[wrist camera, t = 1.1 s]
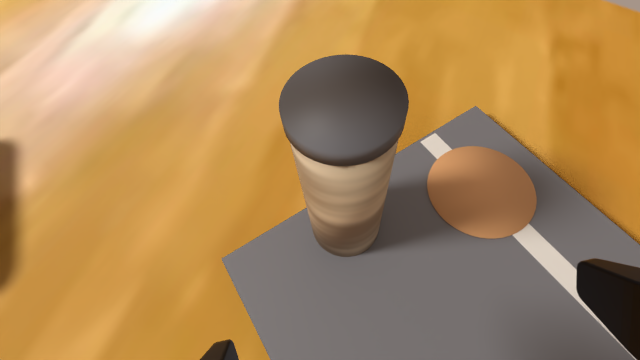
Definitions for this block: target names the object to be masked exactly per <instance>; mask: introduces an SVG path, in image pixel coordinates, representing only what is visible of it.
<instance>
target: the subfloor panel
mask: <svg viewBox="0 0 640 360" xmlns="http://www.w3.org/2000/svg"><path fill="white" fill-rule="evenodd" d="M592 258H598V259H603V260H607V261H612V262H616V263H621V264H625V265H630V266H635V267H639V268H640V245H639V244H638V243H637V242H636V241H634V240H633V239H632V238H631V237H630V236H629V235H627V234H626V233H625V232H624V231H623V230H622V229H620V228H619V227H618V226H617V225H616V224H614V223H613V222H612V221H611V220H610V219H609V218H607V217H606V216H605V215H604V214H603V213H601V212H600V211H599V210H598V209H597V208H596V207H594V206H593V205H592V204H591V203H590V202H588V201H587V200H586V199H585V198H584V197H583V196H581V195H580V194H579V193H578V192H577V191H576V190H574V189H573V188H572V187H571V186H570V185H568V184H567V183H566V182H565V181H564V180H563V179H561V178H560V177H559V176H558V175H557V174H555V173H554V172H553V171H552V170H551V169H550V168H548V167H547V166H546V165H545V164H544V163H543V162H541V161H540V160H539V159H538V158H537V157H535V156H534V155H533V154H532V153H531V152H530V151H528V150H527V149H526V148H525V147H524V146H522V145H521V144H520V143H519V142H518V141H517V140H515V139H514V138H513V137H512V136H511V135H509V134H508V133H507V132H506V131H505V130H504V129H502V128H501V127H500V126H499V125H498V124H497V123H495V122H494V121H493V120H492V119H491V118H489V117H488V116H487V115H486V114H485V113H484V112H482V111H481V110H480V109H479V108H478V107H476V106H475V107H473V108H471V109H470V110H468V111H466V112H465V113H463V114H461V115H460V116H458V117H456V118H455V119H453V120H451V121H450V122H448V123H446V124H445V125H443V126H441V127H440V128H438V129H437V130H435V131H433V132H432V133H430V134H428V135H427V136H425V137H423V138H422V139H420V140H418V141H417V142H415V143H413V144H412V145H410V146H408V147H407V148H405V149H403V150H402V151H400V152H398V153H397V154H395V157H394V162H393V166H392V171H391V176H390V180H389V185H388V189H387V194H386V199H385V203H384V208H383V212H382V217H381V222H380V226H379V231H378V235H377V238H376V240H375V241H374V243H373V244H372V246H371V247H370V248H369V249H367V250H366V251H365V252H363V253H361V254H359V255H356V256H351V257H340V256H336V255H333V254H331V253H329V252H327V251H326V250H324V249H323V248H322V247H321V246H320V245H319V244H318V242H317V240H316V239H315V236H314V233H313V230H312V226H311V222H310V218H309V214H308V210H307V208H305V209H303V210H302V211H300V212H298V213H297V214H295V215H293V216H292V217H290V218H288V219H287V220H285V221H283V222H282V223H280V224H279V225H277V226H275V227H274V228H272V229H270V230H269V231H267V232H265V233H264V234H262V235H260V236H259V237H257V238H255V239H254V240H252V241H250V242H249V243H247V244H245V245H244V246H242V247H240V248H239V249H237V250H235V251H234V252H232V253H230V254H229V255H227V256H225V257H224V258H222V261H223V263H224V265H225V267H226V269H227V271H228V273H229V275H230V277H231V279H232V281H233V284H234V286H235V288H236V290H237V292H238V294H239V296H240V298H241V300H242V302H243V304H244V306H245V308H246V310H247V312H248V314H249V316H250V318H251V320H252V322H253V324H254V326H255V329H256V331H257V333H258V335H259V337H260V339H261V341H262V343H263V345H264V347H265V349H266V351H267V353H268V355H269V357H270V359H271V360H637V359H636V358H635V357H634V356H633V355H632V354H630V353H629V352H628V350H627V349H626V348H625V347H624V346H623V345H622V344H621V343H620V342H619V341H618V340H617V339H616V338H615V336H614V335H613V334H612V333H611V332H610V331H609V330H608V329H607V328H606V326H605V325H604V324H603V323H602V322H601V321H600V320H599V319H598V318H597V316H596V315H595V314H594V313H593V312H592V311H591V310H590V309H589V308H588V307H587V305H586V304H585V303H584V302H583V301H582V300H581V299H580V297H579V295H578V293H577V290H576V276H577V264H578V263H579V262H580V261H583V260H588V259H592Z"/></svg>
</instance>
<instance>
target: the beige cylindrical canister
mask: <svg viewBox="0 0 640 360" xmlns="http://www.w3.org/2000/svg"><path fill="white" fill-rule="evenodd" d="M408 103H409V100H408V94H407V90H406V88H405V86H404V84H403V82H402V80H401V79H400V78H399V76H398V75H397V74H396V73H395V72H394V71H393V70H391V69H390V68H389V67H387V66H386V65H384V64H382V63H380V62H378V61H376V60H373V59H370V58H367V57H363V56H357V55H335V56H329V57H324V58H321V59H318V60H315V61H313V62H311V63H309V64H307V65H305V66H303V67H302V68H301V69H299V70H298V71H297V72H295V73H294V74H293V75H292V76H291V77H290V79H289V80H288V81H287V83H286V84H285V86H284V88H283V90H282V92H281V95H280V100H279V112H280V116H281V120H282V124H283V127H284V131H285V134H286V136H287V138H288V140H289V141H290V144H291V148H292V151H293V155H294V159H295V163H296V167H297V171H298V175H299V179H300V183H301V187H302V190H303V194H304V198H305V202H306V206H307V210H308V214H309V218H310V222H311V226H312V230H313V233H314V236H315V239H316V240H317V242H318V244H319V245H320V246H321V247H322V248H323V249H324V250H326V251H327V252H329V253H331V254H333V255H336V256H340V257H351V256H356V255H359V254H361V253H363V252H365V251H366V250H367V249H369V248H370V247H371V246H372V244H373V243H374V241H375V240H376V238H377V235H378V231H379V226H380V222H381V217H382V212H383V208H384V203H385V199H386V194H387V189H388V185H389V180H390V176H391V171H392V166H393V162H394V157H395V153H396V148H397V143H398V139H399V137H400V136H401V134H402V131H403V129H404V124H405V120H406V116H407V111H408Z"/></svg>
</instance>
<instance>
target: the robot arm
mask: <svg viewBox="0 0 640 360" xmlns="http://www.w3.org/2000/svg"><path fill="white" fill-rule="evenodd" d="M576 290H577V293H578V295H579V297H580V299H581V300H582V301H583V302H584V303H585V304H586V305H587V307H588V308H589V309H590V310H591V311H592V312H593V313H594V314H595V315H596V316H597V318H598V319H599V320H600V321H601V322H602V323H603V324H604V325H605V326H606V328H607V329H608V330H609V331H610V332H611V333H612V334H613V335H614V336H615V338H616V339H617V340H618V341H619V342H620V343H621V344H622V345H623V346H624V347H625V348H626V349H627V350H628V352H629V353H630V354H632V355H633V356H634V357H635V358H636V359H637V360H640V268H639V267H635V266H630V265H625V264H621V263H616V262H612V261H607V260H603V259H598V258H592V259H588V260H583V261H580V262H579V263H578V264H577V276H576ZM200 360H239V359H238V355H237V352H236V349H235V346H234V343H233V342H232V340H224V341H220V342H216V343H214V344H213V345H212V346H211V348H210V349H209V350H208V351H207V352H206V353H205V354H204V356H203V357H202V358H201V359H200Z"/></svg>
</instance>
